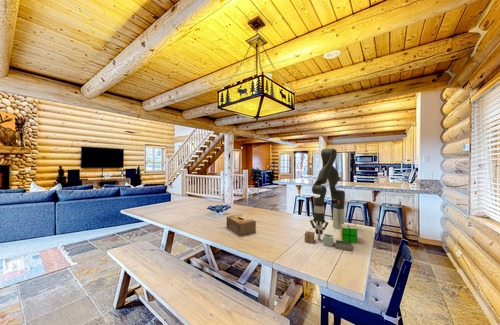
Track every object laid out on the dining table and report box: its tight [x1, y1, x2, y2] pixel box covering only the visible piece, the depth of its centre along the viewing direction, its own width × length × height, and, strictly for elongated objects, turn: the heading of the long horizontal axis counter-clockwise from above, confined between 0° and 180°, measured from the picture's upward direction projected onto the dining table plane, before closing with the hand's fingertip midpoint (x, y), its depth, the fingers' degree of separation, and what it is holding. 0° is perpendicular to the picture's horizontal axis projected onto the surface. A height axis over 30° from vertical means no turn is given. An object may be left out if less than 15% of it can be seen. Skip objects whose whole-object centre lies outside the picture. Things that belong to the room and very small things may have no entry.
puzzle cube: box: [339, 223, 358, 244], centre depth 153 cm, size 10×10×10 cm
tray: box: [334, 239, 353, 252], centre depth 140 cm, size 10×10×2 cm
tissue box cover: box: [226, 213, 257, 237], centre depth 174 cm, size 26×14×10 cm, turn 32°
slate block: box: [322, 233, 334, 248], centre depth 144 cm, size 6×6×6 cm
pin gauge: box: [317, 225, 321, 241], centre depth 152 cm, size 2×2×12 cm
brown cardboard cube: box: [304, 230, 315, 244], centre depth 150 cm, size 6×6×6 cm
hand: (319, 234), depth 152 cm, fingers open, 2 cm apart
